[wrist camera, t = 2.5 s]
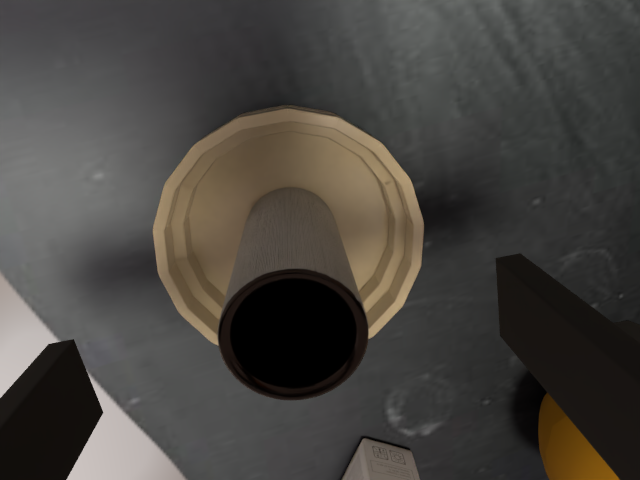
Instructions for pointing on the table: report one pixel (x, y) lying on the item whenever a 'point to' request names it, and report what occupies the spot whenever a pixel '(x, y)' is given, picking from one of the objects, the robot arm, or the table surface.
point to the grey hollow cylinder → (292, 301)
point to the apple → (567, 447)
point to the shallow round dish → (279, 172)
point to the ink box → (381, 463)
